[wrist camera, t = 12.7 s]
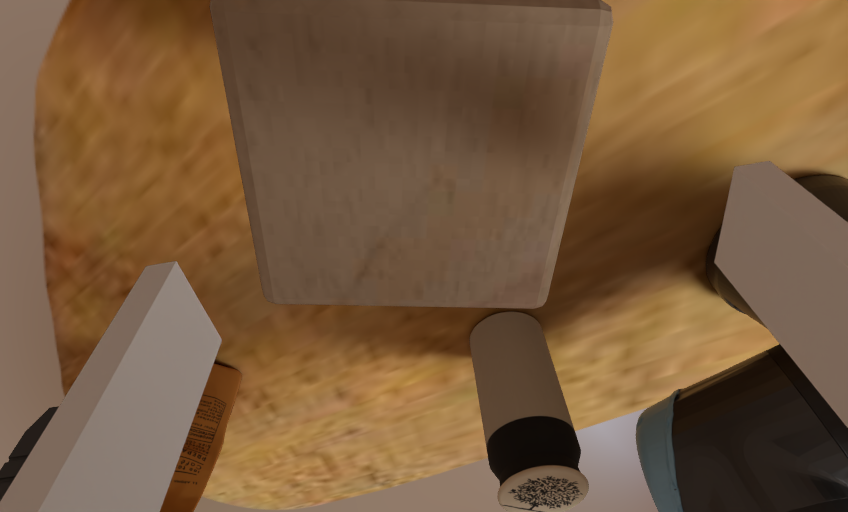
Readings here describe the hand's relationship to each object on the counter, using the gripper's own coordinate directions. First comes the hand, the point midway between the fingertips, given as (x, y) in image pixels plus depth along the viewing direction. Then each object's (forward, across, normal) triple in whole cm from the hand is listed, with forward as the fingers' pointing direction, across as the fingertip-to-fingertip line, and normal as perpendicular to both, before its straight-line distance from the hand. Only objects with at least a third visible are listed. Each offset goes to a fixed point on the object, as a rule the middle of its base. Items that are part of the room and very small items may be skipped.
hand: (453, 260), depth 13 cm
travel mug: (+30, -4, +35) cm, 46 cm away
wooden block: (+24, 0, 0) cm, 24 cm away
